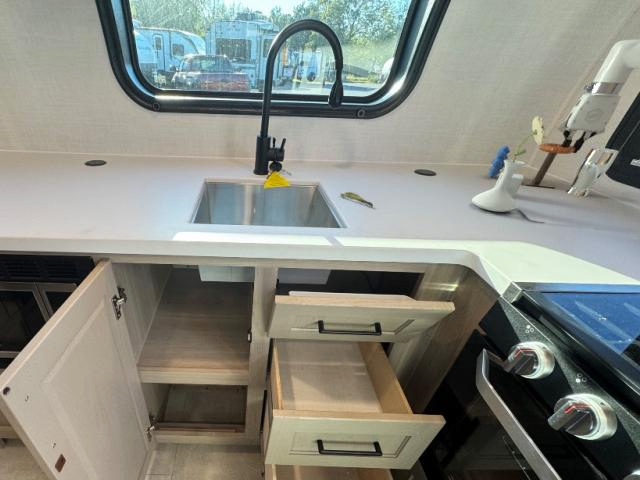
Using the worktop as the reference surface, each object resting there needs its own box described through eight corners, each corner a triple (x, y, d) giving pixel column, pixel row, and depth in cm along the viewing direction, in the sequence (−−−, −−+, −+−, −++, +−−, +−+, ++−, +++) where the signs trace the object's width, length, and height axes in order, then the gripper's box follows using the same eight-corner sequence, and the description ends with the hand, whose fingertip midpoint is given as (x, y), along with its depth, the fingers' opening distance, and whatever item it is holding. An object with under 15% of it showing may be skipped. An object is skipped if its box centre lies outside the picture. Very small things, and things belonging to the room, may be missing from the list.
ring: (566, 149, 115) (569, 143, 113) (577, 155, 107) (581, 148, 106) (534, 147, 117) (537, 141, 116) (543, 152, 110) (547, 146, 109)
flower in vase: (508, 218, 92) (563, 120, 77) (465, 208, 98) (508, 115, 83) (516, 207, 99) (567, 116, 84) (475, 198, 106) (516, 112, 91)
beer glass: (593, 200, 107) (626, 152, 98) (570, 198, 108) (601, 151, 99) (578, 193, 113) (608, 148, 104) (557, 192, 114) (585, 147, 105)
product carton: (511, 196, 108) (523, 174, 104) (511, 201, 104) (524, 178, 100) (490, 193, 111) (501, 171, 106) (490, 197, 107) (501, 175, 102)
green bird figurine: (369, 208, 96) (371, 201, 94) (337, 197, 105) (338, 191, 104) (378, 206, 97) (380, 199, 96) (346, 195, 107) (347, 189, 105)
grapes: (500, 182, 122) (517, 148, 115) (480, 178, 126) (495, 146, 119) (507, 177, 129) (523, 145, 122) (488, 173, 133) (503, 142, 126)
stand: (544, 184, 122) (564, 150, 115) (553, 190, 115) (575, 154, 108) (516, 181, 124) (534, 147, 117) (524, 187, 118) (543, 152, 110)
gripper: (578, 89, 100) (544, 152, 111) (644, 91, 95) (601, 156, 106) (568, 88, 105) (536, 148, 116) (629, 90, 101) (590, 152, 112)
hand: (568, 151), depth 111 cm, fingers closed on ring, 2 cm apart
